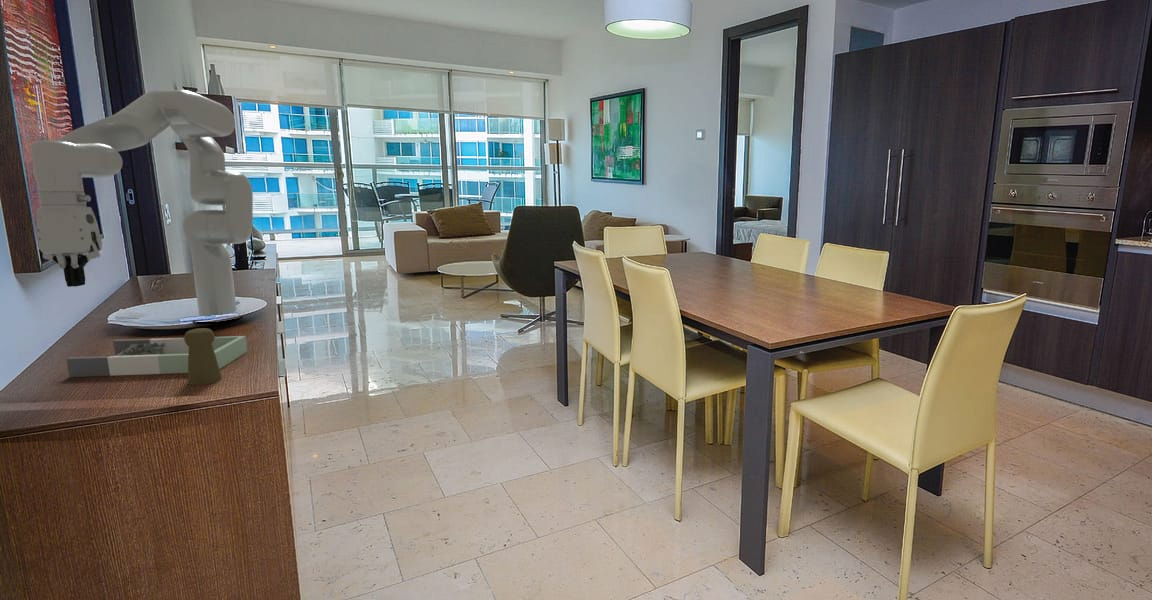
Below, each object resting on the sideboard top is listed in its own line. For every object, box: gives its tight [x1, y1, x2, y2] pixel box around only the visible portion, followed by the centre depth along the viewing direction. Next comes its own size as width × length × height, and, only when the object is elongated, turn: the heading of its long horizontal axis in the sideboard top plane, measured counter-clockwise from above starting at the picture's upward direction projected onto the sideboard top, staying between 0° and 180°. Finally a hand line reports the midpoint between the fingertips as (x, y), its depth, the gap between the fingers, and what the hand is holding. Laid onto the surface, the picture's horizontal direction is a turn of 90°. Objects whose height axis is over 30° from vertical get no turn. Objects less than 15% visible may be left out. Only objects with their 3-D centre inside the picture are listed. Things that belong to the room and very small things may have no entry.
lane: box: [66, 335, 248, 378], centre depth 133 cm, size 16×29×4 cm, turn 96°
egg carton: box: [112, 342, 166, 356], centre depth 131 cm, size 11×8×4 cm
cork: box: [183, 327, 223, 386], centre depth 120 cm, size 6×6×11 cm
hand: (76, 285), depth 128 cm, fingers closed
